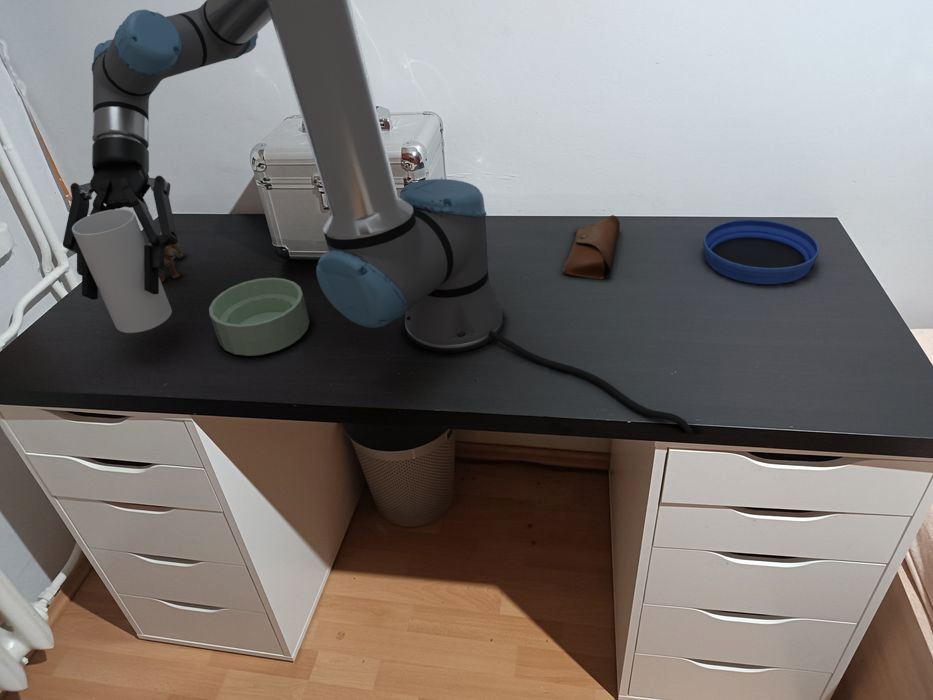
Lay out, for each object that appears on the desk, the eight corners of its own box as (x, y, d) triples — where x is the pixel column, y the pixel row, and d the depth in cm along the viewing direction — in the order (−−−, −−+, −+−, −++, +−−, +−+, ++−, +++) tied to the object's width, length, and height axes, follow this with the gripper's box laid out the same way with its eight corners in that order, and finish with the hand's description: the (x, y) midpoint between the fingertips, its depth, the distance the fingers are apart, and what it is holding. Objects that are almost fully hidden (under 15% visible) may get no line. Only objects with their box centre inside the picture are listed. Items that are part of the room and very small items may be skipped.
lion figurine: (187, 284, 124) (171, 240, 119) (157, 291, 123) (139, 247, 118) (183, 251, 136) (169, 209, 130) (155, 257, 134) (139, 215, 129)
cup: (182, 305, 106) (146, 210, 97) (149, 335, 100) (107, 236, 90) (138, 301, 108) (99, 207, 99) (103, 330, 102) (58, 233, 93)
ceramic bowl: (328, 322, 111) (320, 290, 107) (262, 369, 102) (252, 336, 98) (267, 300, 118) (259, 270, 114) (201, 342, 108) (189, 311, 105)
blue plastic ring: (796, 236, 123) (801, 218, 121) (828, 287, 109) (834, 267, 107) (693, 237, 126) (696, 219, 124) (711, 288, 111) (714, 269, 109)
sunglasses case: (574, 227, 131) (593, 200, 127) (605, 246, 132) (625, 219, 128) (560, 274, 117) (581, 245, 113) (595, 294, 118) (617, 266, 114)
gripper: (201, 151, 105) (204, 294, 101) (66, 163, 105) (64, 306, 102) (180, 128, 98) (182, 281, 94) (34, 141, 98) (31, 294, 94)
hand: (120, 294), depth 98 cm, fingers closed on cup, 8 cm apart
